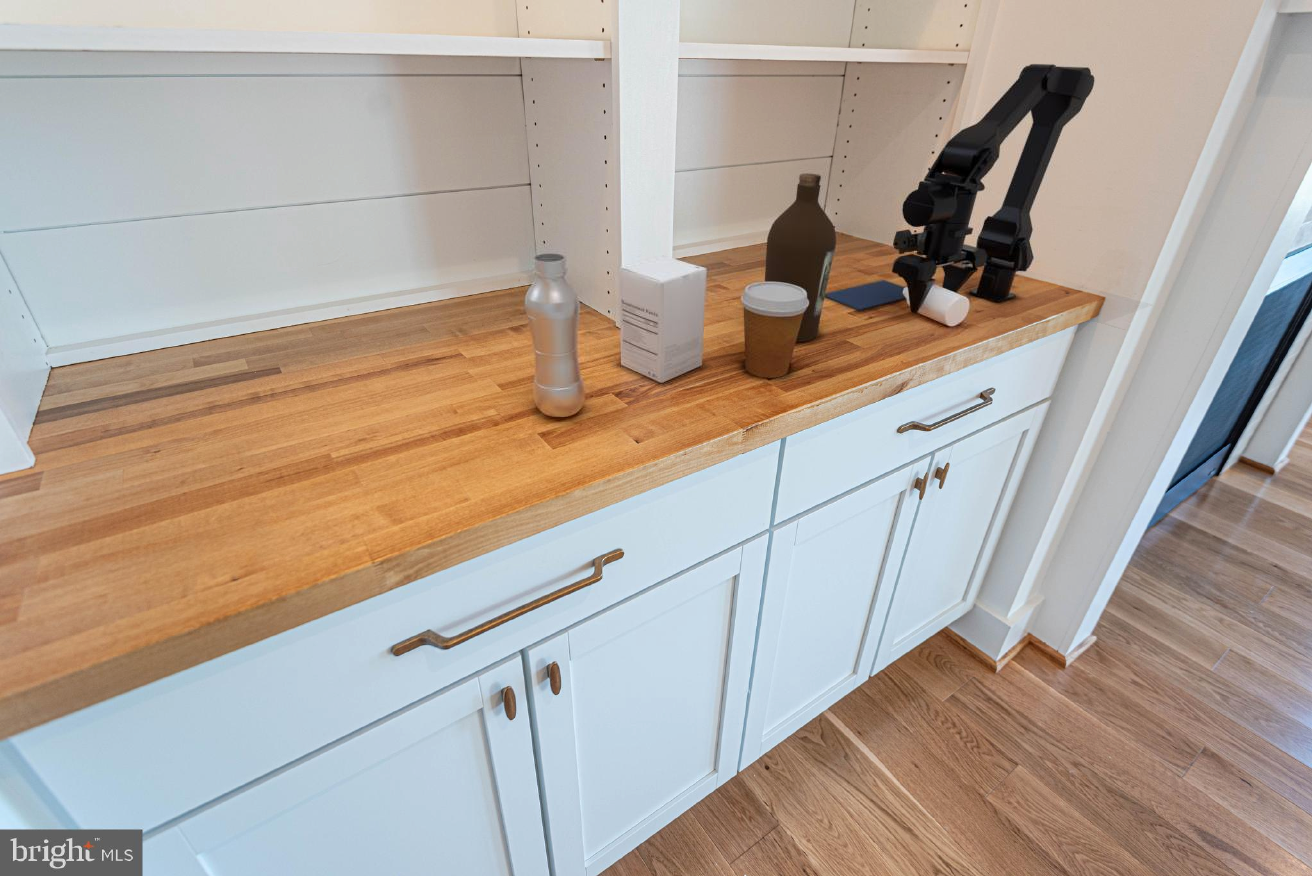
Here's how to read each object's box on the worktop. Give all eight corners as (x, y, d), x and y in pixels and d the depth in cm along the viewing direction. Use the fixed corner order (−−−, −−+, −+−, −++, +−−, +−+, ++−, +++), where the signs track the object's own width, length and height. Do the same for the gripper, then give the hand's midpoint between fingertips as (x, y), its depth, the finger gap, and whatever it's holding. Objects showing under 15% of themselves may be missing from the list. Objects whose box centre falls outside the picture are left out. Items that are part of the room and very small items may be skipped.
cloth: (883, 281, 133) (883, 280, 133) (921, 294, 126) (922, 293, 126) (822, 295, 124) (822, 294, 124) (859, 310, 118) (859, 308, 117)
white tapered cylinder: (913, 302, 122) (920, 274, 119) (965, 323, 113) (974, 293, 110) (890, 307, 119) (897, 278, 116) (941, 329, 110) (950, 297, 107)
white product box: (661, 348, 101) (663, 253, 93) (703, 366, 95) (709, 267, 88) (618, 364, 95) (617, 265, 87) (660, 384, 90) (663, 280, 82)
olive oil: (754, 340, 104) (771, 178, 91) (760, 318, 113) (777, 167, 100) (820, 347, 102) (847, 183, 89) (821, 324, 111) (846, 171, 98)
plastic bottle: (564, 428, 79) (554, 269, 68) (523, 413, 82) (507, 259, 72) (595, 407, 84) (590, 256, 73) (556, 394, 87) (545, 246, 76)
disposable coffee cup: (779, 389, 89) (790, 307, 83) (722, 370, 94) (728, 292, 88) (809, 367, 96) (821, 289, 90) (754, 350, 101) (762, 276, 94)
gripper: (944, 205, 117) (924, 288, 126) (876, 216, 109) (859, 303, 117) (1000, 217, 110) (974, 304, 118) (931, 230, 101) (909, 323, 109)
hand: (928, 308), depth 115 cm, fingers open, 8 cm apart
